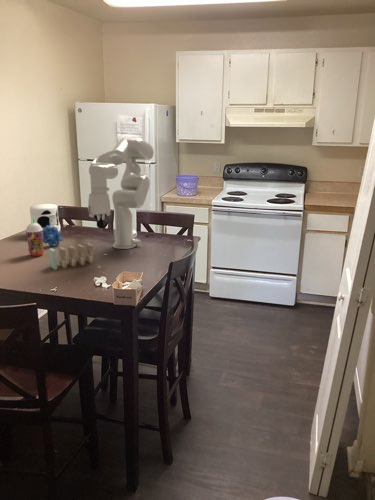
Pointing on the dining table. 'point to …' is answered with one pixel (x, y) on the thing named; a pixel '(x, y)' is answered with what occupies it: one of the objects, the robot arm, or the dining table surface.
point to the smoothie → (35, 239)
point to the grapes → (51, 235)
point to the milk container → (45, 215)
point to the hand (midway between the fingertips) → (100, 227)
